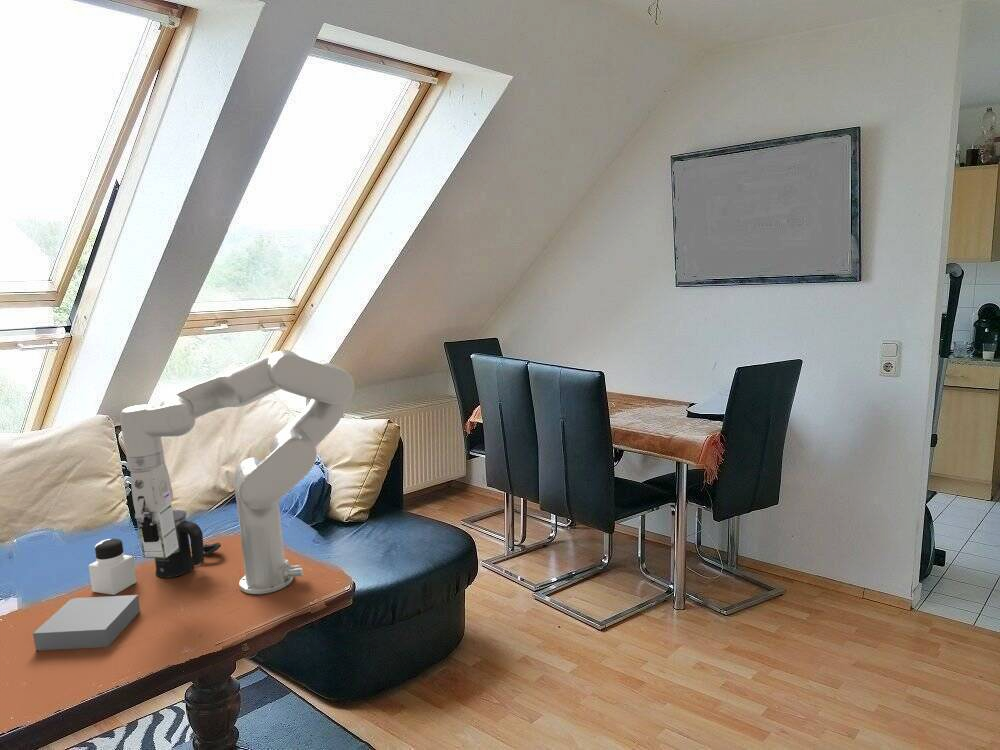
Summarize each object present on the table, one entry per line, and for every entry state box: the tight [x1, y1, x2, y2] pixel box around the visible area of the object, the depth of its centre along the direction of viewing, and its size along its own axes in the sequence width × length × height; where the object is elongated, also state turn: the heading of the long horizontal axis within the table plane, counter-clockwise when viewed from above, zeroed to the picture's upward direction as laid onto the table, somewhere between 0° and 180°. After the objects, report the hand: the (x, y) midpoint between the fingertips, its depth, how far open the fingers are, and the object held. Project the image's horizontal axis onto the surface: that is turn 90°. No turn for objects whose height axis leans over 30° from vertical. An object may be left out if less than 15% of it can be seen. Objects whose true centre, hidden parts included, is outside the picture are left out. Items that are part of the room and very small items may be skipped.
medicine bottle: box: [88, 538, 137, 596], centre depth 181 cm, size 7×7×12 cm
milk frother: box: [154, 509, 222, 578], centre depth 192 cm, size 14×16×15 cm
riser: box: [32, 594, 141, 651], centre depth 162 cm, size 15×15×4 cm
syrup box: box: [134, 490, 178, 559], centre depth 168 cm, size 6×6×14 cm
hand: (158, 534), depth 169 cm, fingers closed on syrup box, 6 cm apart
